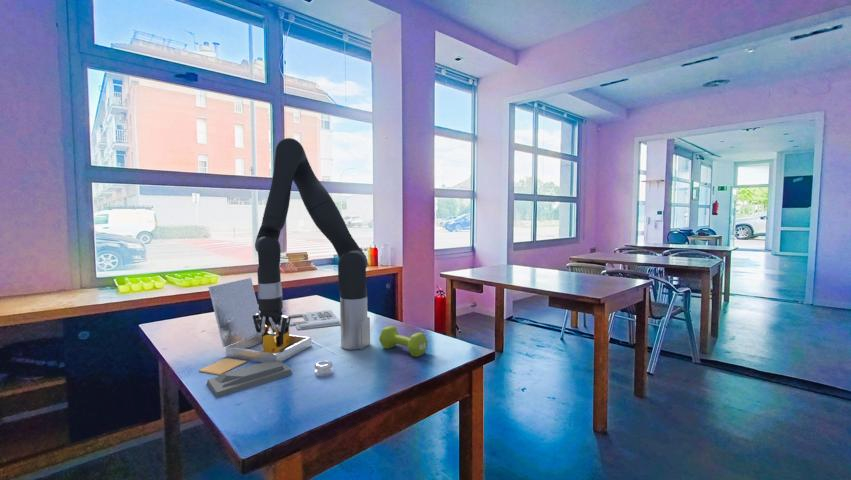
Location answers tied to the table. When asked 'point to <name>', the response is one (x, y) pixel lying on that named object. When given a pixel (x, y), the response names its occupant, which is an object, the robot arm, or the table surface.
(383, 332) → the dumbbell
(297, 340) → the case
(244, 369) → the grey bevelled block
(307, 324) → the office telephone
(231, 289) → the lid
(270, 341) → the yellow curved stepped piece
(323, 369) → the metal grooved wheel
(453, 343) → the table surface
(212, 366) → the tan rectangular plate
